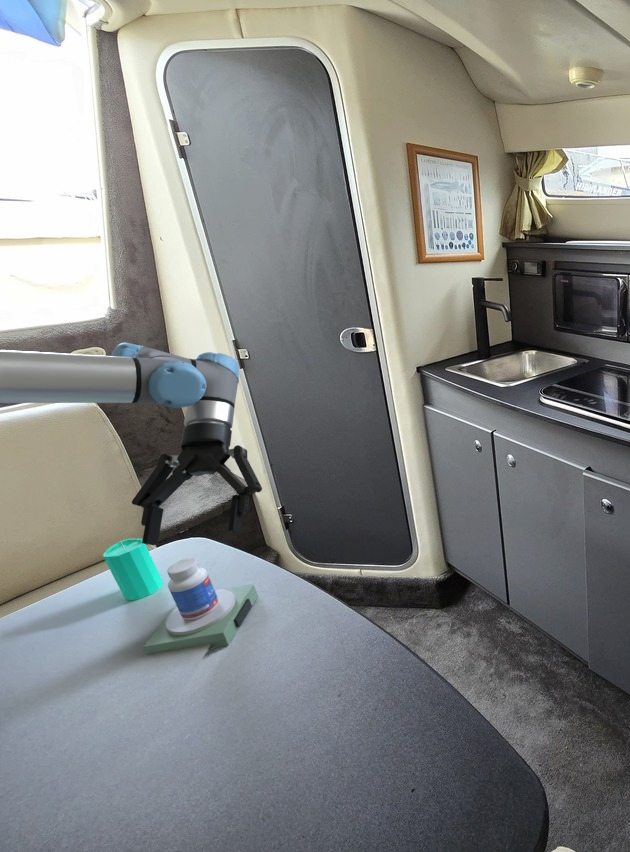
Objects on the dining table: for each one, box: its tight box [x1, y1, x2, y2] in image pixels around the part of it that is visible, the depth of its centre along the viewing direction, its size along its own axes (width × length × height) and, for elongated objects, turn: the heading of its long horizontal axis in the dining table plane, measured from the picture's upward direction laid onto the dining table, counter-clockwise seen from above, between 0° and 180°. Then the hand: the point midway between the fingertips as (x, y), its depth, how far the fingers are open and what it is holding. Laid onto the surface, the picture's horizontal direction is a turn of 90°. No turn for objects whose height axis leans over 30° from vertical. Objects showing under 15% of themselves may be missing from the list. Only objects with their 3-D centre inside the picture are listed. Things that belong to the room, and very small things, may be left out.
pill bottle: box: [166, 557, 218, 620], centre depth 86 cm, size 6×5×10 cm
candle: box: [102, 538, 164, 601], centre depth 97 cm, size 6×6×12 cm
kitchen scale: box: [143, 583, 259, 655], centre depth 89 cm, size 12×12×4 cm
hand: (192, 538), depth 88 cm, fingers open, 13 cm apart
